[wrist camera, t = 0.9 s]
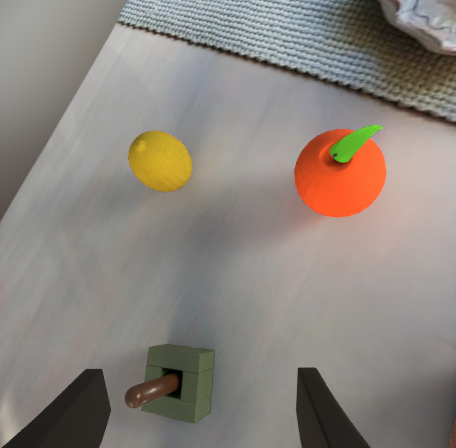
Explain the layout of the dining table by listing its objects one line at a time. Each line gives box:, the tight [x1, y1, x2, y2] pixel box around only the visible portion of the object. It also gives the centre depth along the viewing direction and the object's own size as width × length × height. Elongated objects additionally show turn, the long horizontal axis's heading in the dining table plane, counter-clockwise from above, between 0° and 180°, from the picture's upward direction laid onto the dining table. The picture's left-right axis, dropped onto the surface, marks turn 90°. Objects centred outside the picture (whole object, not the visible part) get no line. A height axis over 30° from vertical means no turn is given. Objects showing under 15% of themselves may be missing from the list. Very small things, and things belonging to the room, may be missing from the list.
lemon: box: [128, 131, 192, 192], centre depth 32 cm, size 6×6×8 cm
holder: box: [141, 344, 215, 423], centre depth 29 cm, size 5×5×3 cm
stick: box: [125, 370, 183, 408], centre depth 26 cm, size 1×1×8 cm
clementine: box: [294, 125, 386, 217], centre depth 26 cm, size 8×7×7 cm
